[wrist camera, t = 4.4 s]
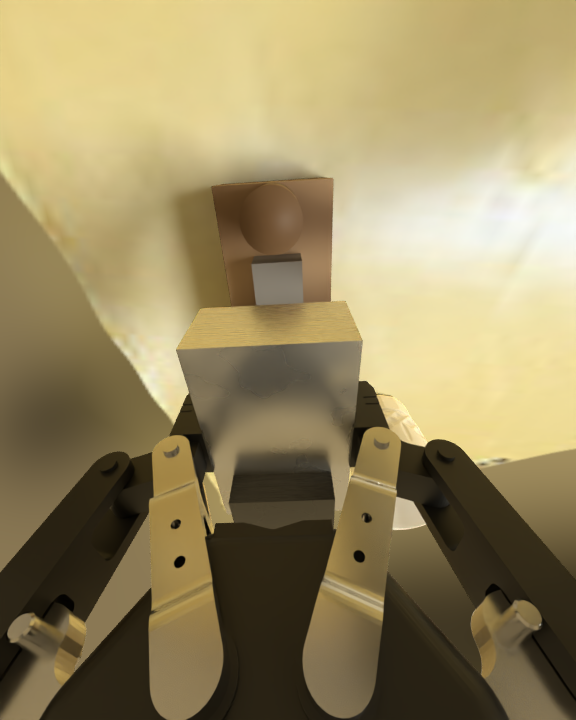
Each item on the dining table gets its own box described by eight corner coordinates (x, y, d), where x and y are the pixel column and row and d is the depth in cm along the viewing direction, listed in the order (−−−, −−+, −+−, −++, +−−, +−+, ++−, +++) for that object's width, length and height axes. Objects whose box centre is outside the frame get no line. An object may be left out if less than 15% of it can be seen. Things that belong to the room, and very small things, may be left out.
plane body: (223, 184, 20) (190, 190, 13) (325, 177, 20) (347, 179, 13) (253, 381, 29) (242, 449, 22) (323, 378, 29) (335, 444, 22)
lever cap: (200, 308, 11) (161, 373, 8) (345, 300, 11) (372, 363, 8) (236, 460, 16) (222, 542, 13) (336, 456, 16) (350, 537, 13)
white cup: (330, 437, 34) (345, 525, 25) (351, 383, 30) (378, 467, 21) (394, 446, 35) (429, 534, 26) (423, 395, 31) (476, 480, 22)
